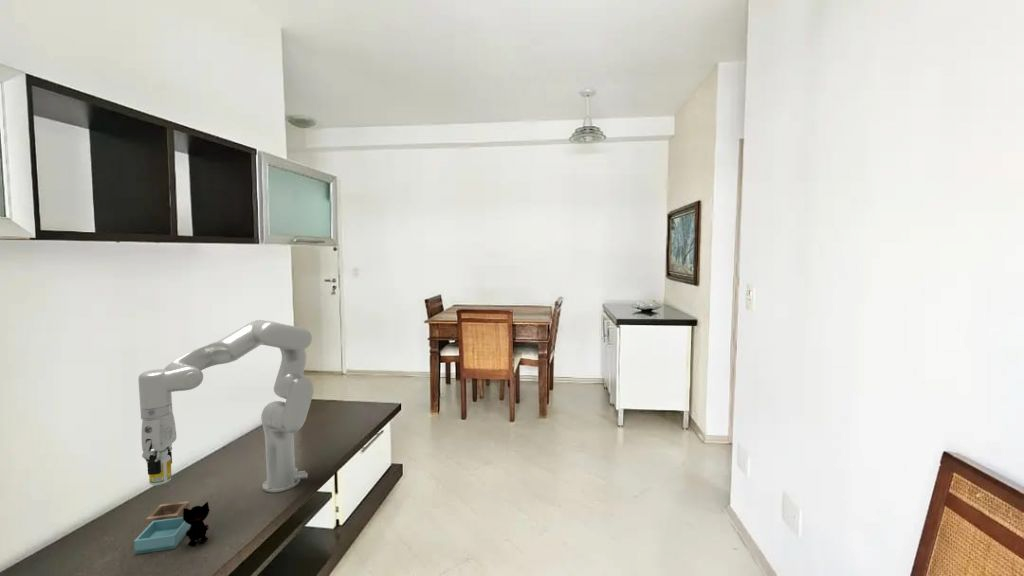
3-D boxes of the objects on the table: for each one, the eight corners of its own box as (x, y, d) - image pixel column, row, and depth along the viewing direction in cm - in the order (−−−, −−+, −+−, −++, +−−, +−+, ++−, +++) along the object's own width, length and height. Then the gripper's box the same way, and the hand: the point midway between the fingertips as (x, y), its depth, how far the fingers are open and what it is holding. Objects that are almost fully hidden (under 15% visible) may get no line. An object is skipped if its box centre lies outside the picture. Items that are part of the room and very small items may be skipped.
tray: (191, 528, 142) (190, 516, 142) (175, 548, 132) (174, 535, 132) (153, 533, 140) (152, 521, 140) (134, 554, 130) (133, 541, 130)
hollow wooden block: (189, 510, 152) (189, 501, 152) (177, 525, 144) (176, 515, 143) (160, 514, 150) (159, 504, 150) (146, 529, 142) (145, 519, 141)
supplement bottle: (155, 487, 134) (153, 456, 133) (145, 483, 136) (144, 452, 135) (175, 479, 138) (174, 449, 138) (165, 475, 141) (164, 445, 140)
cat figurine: (211, 532, 140) (209, 495, 139) (213, 544, 134) (210, 505, 134) (183, 541, 136) (180, 503, 135) (183, 553, 130) (181, 513, 129)
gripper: (154, 420, 128) (158, 481, 129) (184, 401, 145) (188, 455, 146) (124, 422, 126) (128, 484, 128) (158, 403, 143) (161, 458, 144)
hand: (160, 468), depth 137 cm, fingers closed on supplement bottle, 5 cm apart
